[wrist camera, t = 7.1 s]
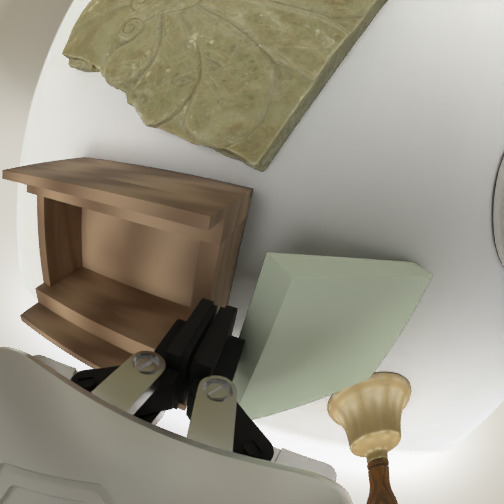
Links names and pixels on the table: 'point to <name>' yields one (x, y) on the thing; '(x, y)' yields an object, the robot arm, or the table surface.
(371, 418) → the hand bell
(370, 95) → the table surface
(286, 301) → the cover plate
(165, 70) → the decorative tile
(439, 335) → the table surface
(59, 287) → the box
